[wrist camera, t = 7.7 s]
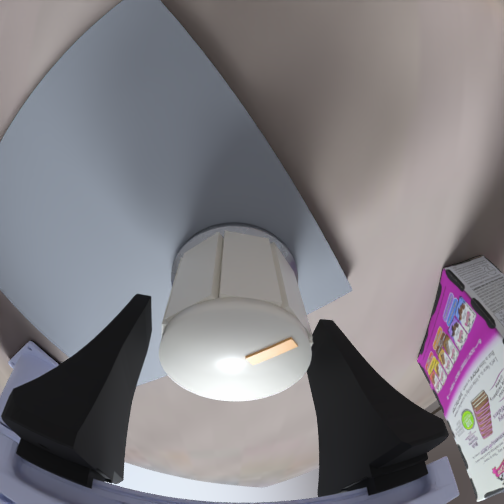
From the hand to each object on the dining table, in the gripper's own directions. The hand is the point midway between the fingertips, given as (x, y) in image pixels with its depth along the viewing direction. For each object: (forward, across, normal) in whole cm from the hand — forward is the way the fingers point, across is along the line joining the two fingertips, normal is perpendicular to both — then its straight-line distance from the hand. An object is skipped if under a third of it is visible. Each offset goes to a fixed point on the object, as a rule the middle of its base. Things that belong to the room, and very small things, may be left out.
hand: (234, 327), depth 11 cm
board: (+4, +7, 0) cm, 9 cm away
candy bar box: (+5, -18, +1) cm, 19 cm away
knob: (+3, 0, 0) cm, 3 cm away
